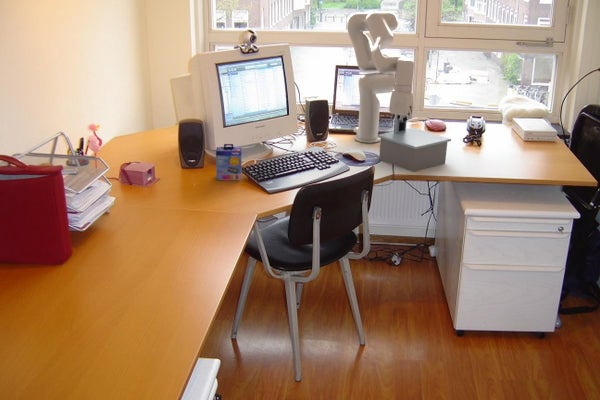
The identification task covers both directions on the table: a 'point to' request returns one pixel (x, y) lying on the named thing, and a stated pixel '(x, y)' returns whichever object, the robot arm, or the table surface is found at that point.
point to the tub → (412, 155)
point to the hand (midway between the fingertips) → (399, 129)
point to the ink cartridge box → (228, 163)
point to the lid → (413, 137)
